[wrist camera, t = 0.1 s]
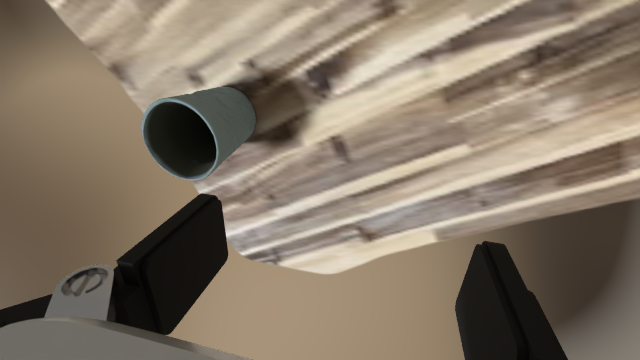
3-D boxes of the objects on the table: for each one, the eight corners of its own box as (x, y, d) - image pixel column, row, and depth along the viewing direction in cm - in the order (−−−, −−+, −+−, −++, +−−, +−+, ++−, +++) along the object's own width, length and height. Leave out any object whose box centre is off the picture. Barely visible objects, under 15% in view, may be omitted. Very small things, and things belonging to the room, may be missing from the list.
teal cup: (254, 80, 41) (204, 95, 31) (267, 148, 45) (227, 182, 35) (192, 84, 44) (127, 100, 33) (210, 149, 48) (157, 181, 38)
